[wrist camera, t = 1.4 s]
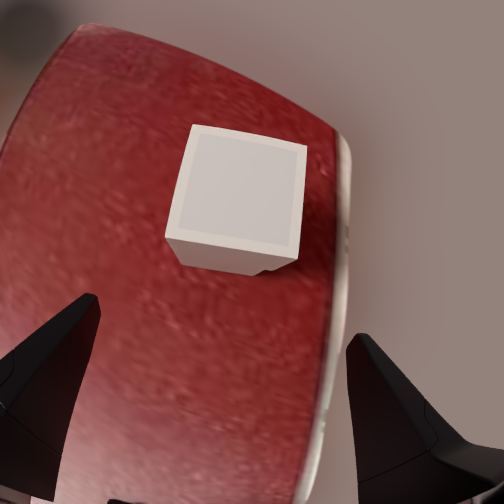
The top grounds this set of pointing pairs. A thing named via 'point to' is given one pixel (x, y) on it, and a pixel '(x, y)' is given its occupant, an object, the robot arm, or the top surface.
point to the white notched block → (237, 202)
